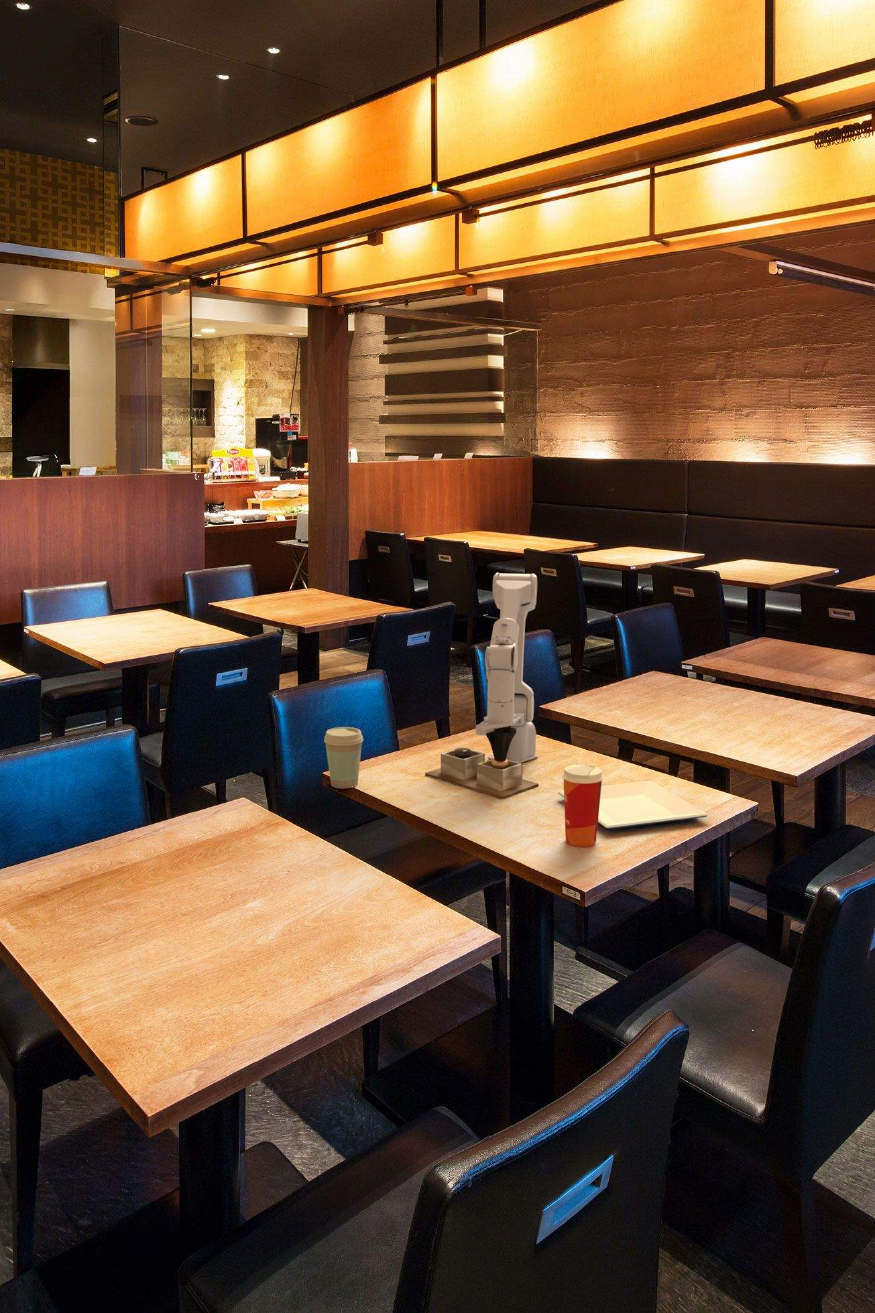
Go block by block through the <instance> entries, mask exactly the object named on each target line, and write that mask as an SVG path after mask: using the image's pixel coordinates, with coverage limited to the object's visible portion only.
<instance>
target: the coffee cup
mask: <svg viewBox="0 0 875 1313" xmlns="http://www.w3.org/2000/svg"><path fill="white" fill-rule="evenodd" d="M363 741H364V738H363V734H362V731H361V730H360V729H359V728H357V727H356V728H355V727H351V726H350V727H349V726H348V727H347V726H341V727H339V726H338V727H334V728H330V729H327V730H326V732H325V736H324V739H323V743H325V749H326V756H327V758H326V759H327V764H328V773H329V779H330V785H331V787H333V788H335V789H342V790H343V789H351V788H353V787H352V786H355V785H357V786H358V784H359V783H358V782H359V775H360V765H361V756H362V755H361V753H362V746H363ZM355 787H356V786H355Z"/></svg>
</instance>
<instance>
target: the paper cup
mask: <svg viewBox="0 0 875 1313" xmlns="http://www.w3.org/2000/svg"><path fill="white" fill-rule="evenodd" d="M561 777H562V779H563V790H564V797H563V799H564V800H563V805H564V806H563V807H564V808H563V809H564V830H565V832H564V834H565V842H566V844H567V845H569V846H572V847H576V848H588V847H593V846H595V844H596V843H597V834H598V826H599V825H598V824H599V823H598V817H599V806H600V795H601V786H603V784H602V783H603V780H604V779H605V778H604V775H603V772H602V769H601V768H600V767H598V766H597V767H595V766H592V765H587V764H572V765H569V766H566V767H565V768H564V770H563V773H561Z"/></svg>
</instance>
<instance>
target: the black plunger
mask: <svg viewBox="0 0 875 1313" xmlns="http://www.w3.org/2000/svg"><path fill="white" fill-rule="evenodd" d="M454 750H455V757H457V758H461V759H465V758H469V757H471V750H472V749H471V748H468V747H457V748H455V749H454Z"/></svg>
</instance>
